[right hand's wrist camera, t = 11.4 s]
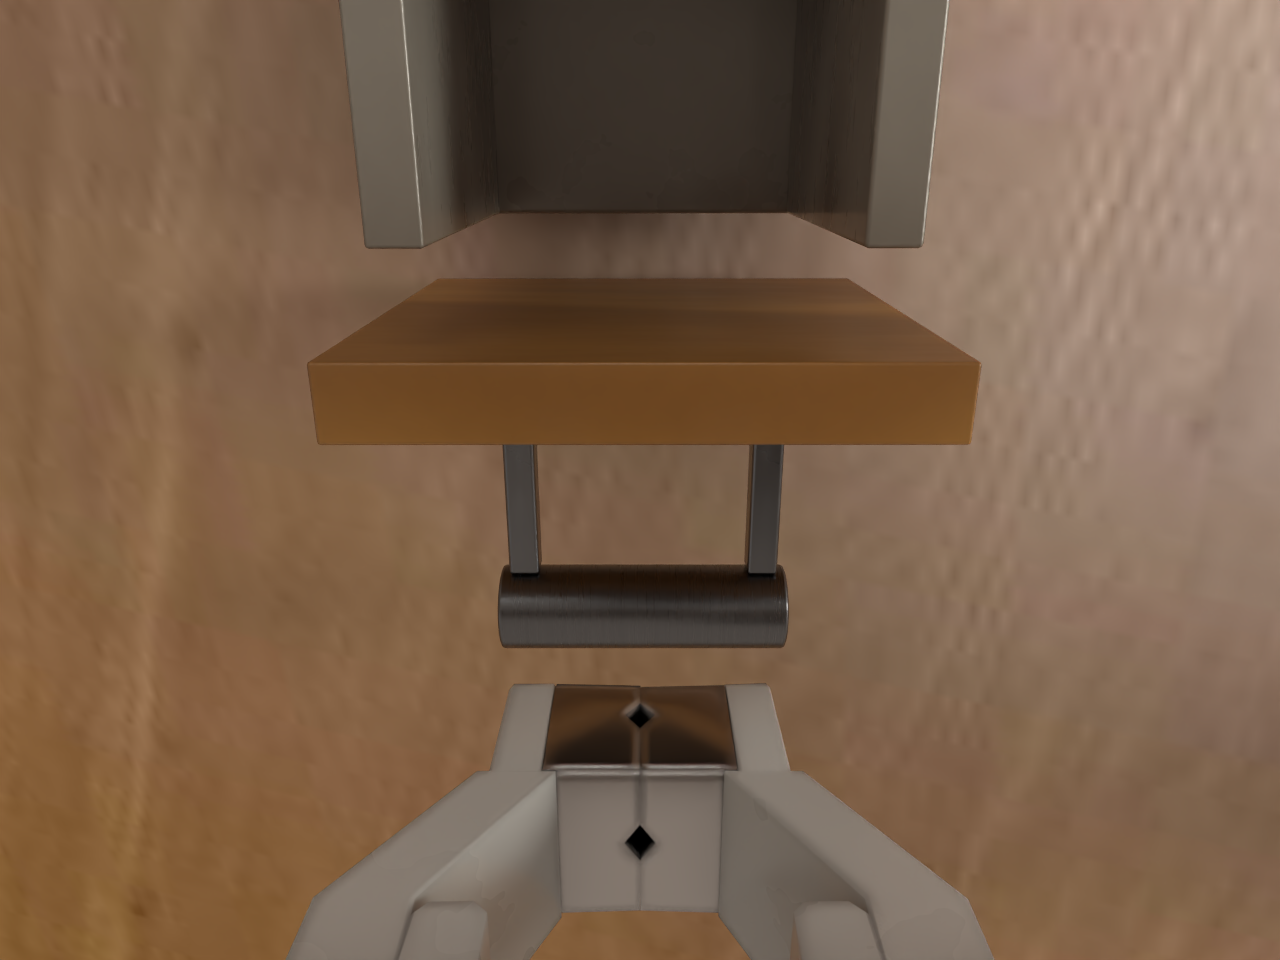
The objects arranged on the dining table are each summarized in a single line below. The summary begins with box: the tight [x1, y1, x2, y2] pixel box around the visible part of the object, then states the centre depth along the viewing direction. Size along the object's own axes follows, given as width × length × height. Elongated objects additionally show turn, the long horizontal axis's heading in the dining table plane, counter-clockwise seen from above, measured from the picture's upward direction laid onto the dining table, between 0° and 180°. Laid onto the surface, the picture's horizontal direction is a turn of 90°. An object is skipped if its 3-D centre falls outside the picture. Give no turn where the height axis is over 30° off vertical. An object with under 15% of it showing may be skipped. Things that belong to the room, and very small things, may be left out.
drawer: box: [307, 0, 981, 648], centre depth 15 cm, size 23×9×8 cm, turn 0°
